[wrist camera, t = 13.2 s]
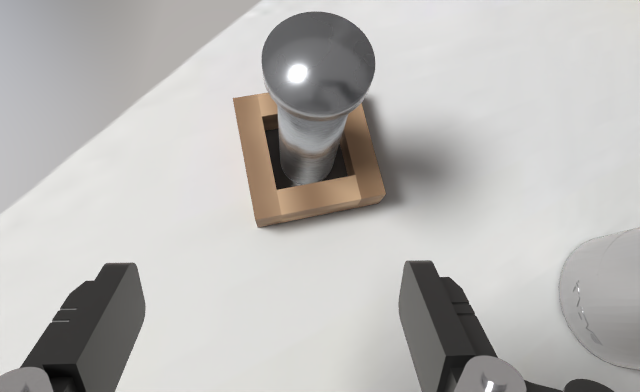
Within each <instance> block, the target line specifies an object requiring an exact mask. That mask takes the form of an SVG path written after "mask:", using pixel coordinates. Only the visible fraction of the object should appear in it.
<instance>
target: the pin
mask: <svg viewBox="0 0 640 392" xmlns="http://www.w3.org/2000/svg"><path fill="white" fill-rule="evenodd" d="M262 69H263V78H264V83H265V86H266V89H267V91H268V93H269V94H270V96H271V98H272V99H273V100H274V101H275V103H276V104H277V108H278V128H279V147H280V163H281V167H282V170H283V171H284V173H285V174H286V176H287V177H288V178H289V179H291V180H292V181H294V182H296V183H299V184H303V185H305V184H311V183H316V182H320V181H322V180H323V179H325V178H326V177H327V176H328V174H329V173H330V171H331V169H332V166H333V163H334V160H335V156H336V153H337V150H338V146H339V143H340V140H341V137H342V133H343V130H344V127H345V123H346V120H347V117H348V114H349V113H351V112H352V111H353V110H355V109H356V108H357V107H358V106H359V105H360V104H361V102H362V101H363V100H364V98H365V97H366V95H367V93H368V90H369V88H370V85H371V82H372V79H373V76H374V72H375V56H374V52H373V49H372V46H371V44H370V42H369V40H368V39H367V37H366V36H365V34H364V33H363V32H362V31H361V30H360V29H359V28H358V27H357V26H356V25H354V24H353V23H351V22H350V21H348V20H347V19H345V18H343V17H340V16H338V15H335V14H331V13H326V12H306V13H301V14H297V15H294V16H292V17H290V18H288V19H286V20H284V21H283V22H281V23H280V24H279V25H277V26H276V27H275V28H274V29H273V31H272V32H271V33H270V35H269V36H268V38H267V40H266V42H265V44H264V47H263V51H262Z"/></svg>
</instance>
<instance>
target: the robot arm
mask: <svg viewBox="0 0 640 392" xmlns="http://www.w3.org/2000/svg"><path fill="white" fill-rule="evenodd" d="M559 298H560V303H561V307H562V311H563V315H564V317H565V319H566V321H567V323H568V326H569V328H570V329H571V331H572V332H573V334H574V335H575V336H576V338H577V339H578V341H579V342H580V343H581V344H582V345H583V346H584V347H585V348H586V349H587V350H588V351H590V352H591V353H593V354H594V355H595V356H597V357H598V358H600V359H601V360H604V361H606V362H608V363H611V364H613V365H616V366H621V367H626V368H632V369H638V370H640V228H635V229H631V230H627V231H623V232H619V233H615V234H611V235H607V236H603V237H599V238H595V239H591V240H589V241H587V242H585V243H583V244H581V245H580V246H579V247H577V248H576V249H575V250H574V251H573V252H572V253H571V254H570V256H569V257H568V259H567V260H566V262H565V264H564V266H563V269H562V272H561V275H560V282H559ZM399 315H400V320H401V323H402V327H403V330H404V333H405V337H406V340H407V343H408V347H409V350H410V353H411V357H412V360H413V363H414V367H415V370H416V373H417V377H418V380H419V383H420V386H421V390H422V392H614V391H612V390H611V389H610V388H608V387H606V386H604V385H602V384H600V383H598V382H595V381H591V380H587V379H576V380H572V381H570V382H569V383H568V384H567V385H566V386H565V388H564V390H563V391H561V390H557V389H553V388H549V387H545V386H541V385H537V384H534V383H530V382H528V381H525V380H523V378H522V376H521V375H520V373H519V372H518V371H517V370H516V369H515V368H514V367H513V366H511V365H510V364H509V363H507V362H505V361H503V360H501V359H499V358H498V357H497V355H496V353H495V351H494V349H493V347H492V345H491V344H490V342H489V340H488V338H487V336H486V334H485V332H484V330H483V328H482V326H481V324H480V322H479V320H478V319H477V317H476V316H475V313H474V311H473V309H472V307H471V305H469V301H468V299H467V297H466V295H465V293H464V292H463V290H462V288H461V287H460V286H458V285H457V284H456V283H455V282H454V281H453V280H452V279H451V278H450V277H439V275H438V273H437V270H436V268H435V266H434V264H433V262H432V261H406V262H405V265H404V270H403V276H402V283H401V289H400V295H399ZM144 317H145V300H144V296H143V291H142V287H141V282H140V278H139V273H138V269H137V266H136V264H135V263H106V264H105V265H104V266H103V268H102V269H101V271H100V272H99V274H98V276H97V277H96V279H95V280H94V281H85V282H84V283H83V284H81V285H80V286H79V287H78V288H76V289H75V290H74V291H73V292H71V293H70V294H69V296H68V297H67V299H66V300H65V302H64V303H63V305H62V306H61V308H60V311H58V312H57V314H56V315H55V317H54V318H53V320H52V323H50V324H49V325H48V327H47V328H46V330H45V331H44V333H43V334H42V336H41V337H40V339H39V340H38V342H37V343H36V345H35V346H34V348H33V349H32V351H31V352H30V354H29V355H28V357H27V358H26V360H25V361H24V363H23V364H22V366H21V367H20V368H19V369H15V370H12V371H10V372H7V373H5V374H3V375H1V376H0V392H115V390H116V387H117V385H118V382H119V380H120V377H121V375H122V373H123V370H124V368H125V365H126V363H127V361H128V358H129V356H130V353H131V351H132V349H133V346H134V344H135V341H136V339H137V337H138V334H139V332H140V329H141V327H142V324H143V321H144Z"/></svg>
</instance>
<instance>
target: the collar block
mask: <svg viewBox="0 0 640 392" xmlns="http://www.w3.org/2000/svg"><path fill="white" fill-rule="evenodd" d="M233 102H234V107H235V113H236V118H237V124H238V129H239V134H240V140H241V145H242V151H243V156H244V162H245V167H246V172H247V178H248V183H249V189H250V194H251V199H252V205H253V210H254V216H255V220H256V223H257V226H258V227H263V226H268V225H273V224H278V223H283V222H288V221H293V220H298V219H303V218H308V217H313V216H318V215H323V214H328V213H333V212H338V211H343V210H348V209H353V208H358V207H363V206H368V205H373V204H378V203H379V202H380V201H381V200H382V198H383V197H384V196H385V195H386V192H385V189H384V185H383V181H382V178H381V174H380V170H379V166H378V163H377V159H376V155H375V151H374V148H373V144H372V140H371V137H370V133H369V129H368V125H367V122H366V118H365V114H364V111H363V107H362V103H361V104H360V105H359V106H358V107H357V108H356V109H355V110H353V111H352V112H351V113H349V114H348V117H347V120H346V123H345V127H344V130H343V133H342V137H341V140H340V147H341V151H342V155H343V159H344V163H345V167H346V171H347V175H348V176H347V177H342V178H337V179H332V180H326V181H321V182H316V183H311V184H305V185H300V186H295V187H289V188H284V189H279V190H276V185H275V180H274V175H273V170H272V165H271V160H270V155H269V150H268V145H267V140H266V135H265V131H268V130H274V129H279V128H278V108H277V104H276V103H275V101H274V100H273V99H272V98H271V96H270V94H269V93H263V94H257V95H251V96H244V97H238V98H233Z"/></svg>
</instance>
